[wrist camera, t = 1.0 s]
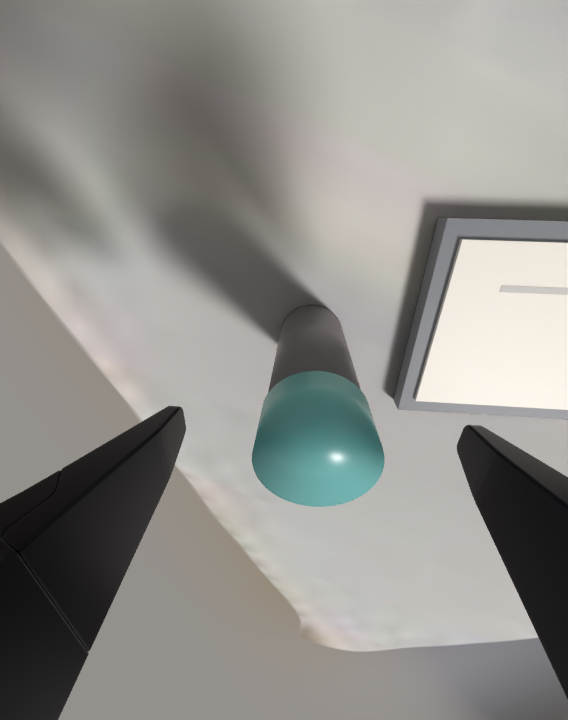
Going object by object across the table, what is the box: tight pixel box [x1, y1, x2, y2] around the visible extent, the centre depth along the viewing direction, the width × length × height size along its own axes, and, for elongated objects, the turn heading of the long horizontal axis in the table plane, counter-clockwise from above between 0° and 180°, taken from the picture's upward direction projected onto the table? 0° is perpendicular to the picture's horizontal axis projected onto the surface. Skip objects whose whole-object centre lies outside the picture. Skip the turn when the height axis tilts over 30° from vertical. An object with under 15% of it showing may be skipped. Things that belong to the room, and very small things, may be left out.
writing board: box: [393, 217, 568, 420], centre depth 14 cm, size 14×10×1 cm
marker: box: [252, 305, 384, 507], centre depth 12 cm, size 4×4×9 cm
